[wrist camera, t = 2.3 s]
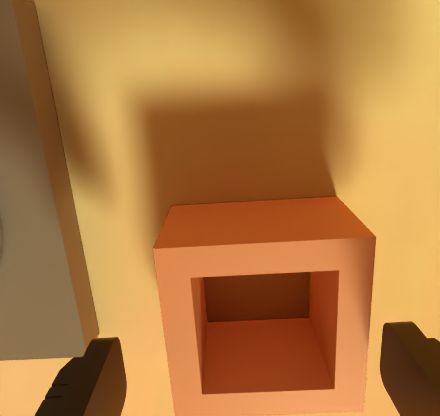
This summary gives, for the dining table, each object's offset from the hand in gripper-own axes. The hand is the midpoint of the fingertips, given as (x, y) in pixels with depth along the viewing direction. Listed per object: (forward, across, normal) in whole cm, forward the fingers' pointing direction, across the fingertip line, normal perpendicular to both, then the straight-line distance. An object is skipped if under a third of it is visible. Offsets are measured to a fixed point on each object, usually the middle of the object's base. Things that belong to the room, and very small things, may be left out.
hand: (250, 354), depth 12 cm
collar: (+4, -1, 0) cm, 5 cm away
